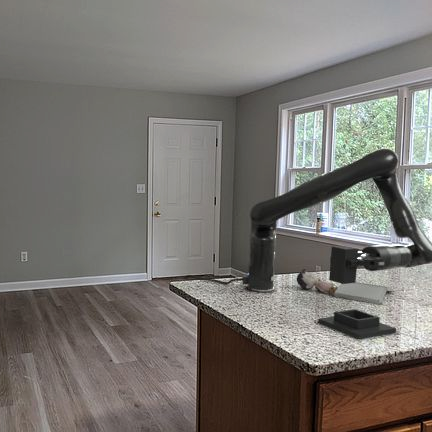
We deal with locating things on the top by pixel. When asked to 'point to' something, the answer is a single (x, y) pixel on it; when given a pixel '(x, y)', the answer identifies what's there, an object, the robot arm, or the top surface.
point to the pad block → (342, 264)
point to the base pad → (357, 324)
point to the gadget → (362, 292)
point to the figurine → (314, 282)
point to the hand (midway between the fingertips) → (339, 261)
